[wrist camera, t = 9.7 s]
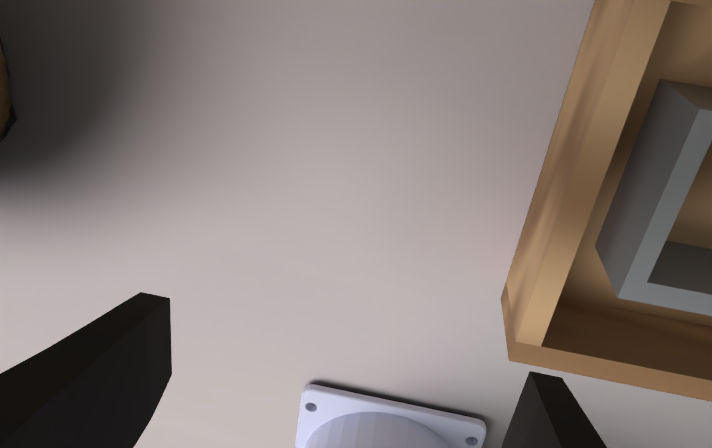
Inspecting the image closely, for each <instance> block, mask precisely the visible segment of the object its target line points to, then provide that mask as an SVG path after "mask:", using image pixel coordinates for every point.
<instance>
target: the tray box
mask: <svg viewBox="0 0 712 448" xmlns="http://www.w3.org/2000/svg"><path fill="white" fill-rule="evenodd" d="M660 79H663V80H669V81H675V82H681V83H687V84H693V85H699V86H705V87H711V88H712V0H595V3H594V6H593V9H592V12H591V15H590V18H589V22H588V25H587V28H586V31H585V34H584V37H583V40H582V44H581V47H580V50H579V53H578V56H577V59H576V63H575V66H574V69H573V72H572V75H571V78H570V82H569V85H568V88H567V91H566V94H565V97H564V101H563V104H562V107H561V110H560V113H559V116H558V119H557V123H556V126H555V129H554V132H553V135H552V138H551V142H550V145H549V148H548V151H547V154H546V157H545V161H544V164H543V167H542V170H541V173H540V176H539V179H538V183H537V186H536V189H535V192H534V195H533V198H532V202H531V205H530V208H529V211H528V214H527V217H526V221H525V224H524V227H523V230H522V233H521V236H520V239H519V243H518V246H517V249H516V252H515V255H514V258H513V262H512V265H511V268H510V271H509V274H508V277H507V281H506V284H505V287H504V290H503V293H502V296H501V304H502V311H503V319H504V326H505V334H506V342H507V349H508V357H509V361H514V362H519V363H524V364H529V365H534V366H539V367H544V368H549V369H554V370H559V371H563V372H568V373H573V374H578V375H583V376H588V377H593V378H598V379H603V380H608V381H613V382H618V383H623V384H628V385H633V386H638V387H642V388H647V389H652V390H657V391H662V392H667V393H672V394H677V395H682V396H687V397H692V398H697V399H702V400H707V401H712V316H709V315H703V314H698V313H693V312H688V311H683V310H678V309H672V308H667V307H662V306H657V305H652V304H647V303H641V302H636V301H631V300H626V299H621V298H617V296H616V294H615V291H614V289H613V287H612V285H611V282H610V280H609V278H608V276H607V273H606V271H605V269H604V266H603V264H602V262H601V260H600V257H599V255H598V253H597V251H596V248H595V243H596V241H597V238H598V236H599V233H600V231H601V228H602V226H603V223H604V220H605V218H606V215H607V213H608V210H609V208H610V205H611V203H612V200H613V198H614V195H615V192H616V190H617V187H618V185H619V182H620V180H621V177H622V175H623V172H624V169H625V167H626V164H627V162H628V159H629V157H630V154H631V152H632V149H633V146H634V144H635V141H636V139H637V136H638V134H639V131H640V129H641V126H642V124H643V121H644V118H645V116H646V113H647V111H648V108H649V106H650V103H651V101H652V98H653V95H654V93H655V90H656V88H657V85H658V83H659V80H660ZM666 240H667V241H672V242H677V243H683V244H688V245H693V246H699V247H704V248H709V249H712V141H711V144H710V146H709V148H708V150H707V152H706V154H705V157H704V159H703V161H702V163H701V165H700V167H699V170H698V172H697V174H696V176H695V178H694V181H693V183H692V185H691V187H690V189H689V191H688V194H687V196H686V198H685V200H684V202H683V204H682V207H681V209H680V211H679V213H678V215H677V218H676V220H675V222H674V224H673V226H672V228H671V231H670V233H669V235H668V237H667V239H666Z"/></svg>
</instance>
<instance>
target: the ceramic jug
mask: <svg viewBox="0 0 712 448" xmlns="http://www.w3.org/2000/svg"><path fill="white" fill-rule="evenodd" d="M8 89H9V73H8V68H7V64H6V59H5V55H4V50H3V46H2V42H1V40H0V142H1V141H2V140H3V139H4V138H5V136H6V135H7V133H8V132H9V130H10V129H11V127H12V126H13V124H14V123H15V121H16V120H17V118H16V115H15V111H14V108H13V105H12V102H11V99H10V96H9V93H8Z"/></svg>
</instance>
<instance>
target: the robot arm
mask: <svg viewBox="0 0 712 448" xmlns="http://www.w3.org/2000/svg"><path fill="white" fill-rule="evenodd" d="M171 375H172V365H171V325H170V298H166V297H161V296H157V295H152V294H147V293H142V292H141V293H139V294H137V295H135V296H134V297H132V298H130V299H128V300H127V301H125V302H123V303H122V304H120V305H119V306H117V307H115V308H114V309H112V310H110V311H109V312H107V313H106V314H104V315H102V316H101V317H99V318H97V319H96V320H94V321H93V322H91V323H89V324H88V325H86V326H84V327H83V328H81V329H79V330H78V331H76V332H74V333H73V334H71V335H69V336H67V337H66V338H64V339H62V340H61V341H59V342H57V343H56V344H54V345H52V346H51V347H49V348H47V349H45V350H44V351H42V352H40V353H38V354H36V355H34V356H32V357H31V358H29V359H27V360H25V361H23V362H21V363H19V364H18V365H16V366H14V367H12V368H10V369H8V370H7V371H5V372H3V373H1V374H0V448H133V447H134V446H135V444H136V442H137V441H138V439H139V438H140V436H141V434H142V433H143V431H144V430H145V428H146V426H147V425H148V423H149V421H150V420H151V418H152V416H153V414H154V412H155V410H156V407H157V405H158V403H159V401H160V399H161V397H162V395H163V393H164V390H165V388H166V386H167V384H168V382H169V379H170V377H171ZM309 403H314V404H315V405H311V404H309ZM468 437H474V438H468ZM485 437H486V425H485V423H484V422H483V421H482V420H480V419H477V418H472V417H467V416H462V415H458V414H453V413H448V412H443V411H439V410H434V409H429V408H424V407H420V406H415V405H410V404H405V403H400V402H396V401H391V400H386V399H381V398H377V397H372V396H367V395H362V394H357V393H353V392H348V391H343V390H338V389H334V388H329V387H324V386H319V385H313V384H310V385H307V386H306V387H304V389H303V392H302V395H301V402H300V410H299V419H298V427H297V435H296V443H295V448H482V445H483V442H484V439H485ZM502 448H607V447H606V445H605V444H604V442H603V441H602V439H601V438H600V436H599V435H598V433H597V432H596V430H595V429H594V427H593V426H592V424H591V422H590V421H589V419H588V418H587V416H586V415H585V413H584V412H583V410H582V408H581V407H580V405H579V404H578V402H577V401H576V399H575V398H574V396H573V394H572V393H571V391H570V390H569V388H568V387H567V385H566V384H565V382H564V381H563V379H562V378H560V377H555V376H550V375H546V374H541V373H536V372H531V371H530V372H529V375H528V377H527V380H526V383H525V385H524V388H523V391H522V393H521V396H520V399H519V401H518V404H517V407H516V409H515V412H514V415H513V417H512V420H511V423H510V425H509V428H508V431H507V433H506V436H505V439H504V441H503V444H502Z"/></svg>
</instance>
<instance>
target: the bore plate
mask: <svg viewBox="0 0 712 448" xmlns="http://www.w3.org/2000/svg"><path fill="white" fill-rule="evenodd" d="M711 141H712V88H711V87H705V86H699V85H693V84H687V83H681V82H675V81H669V80H663V79H660V80H659V83H658V85H657V88H656V90H655V93H654V95H653V98H652V101H651V103H650V106H649V108H648V111H647V113H646V116H645V118H644V121H643V124H642V126H641V129H640V131H639V134H638V136H637V139H636V141H635V144H634V146H633V149H632V152H631V154H630V157H629V159H628V162H627V164H626V167H625V169H624V172H623V175H622V177H621V180H620V182H619V185H618V187H617V190H616V192H615V195H614V198H613V200H612V203H611V205H610V208H609V210H608V213H607V215H606V218H605V220H604V223H603V226H602V228H601V231H600V233H599V236H598V238H597V241H596V243H595V248H596V251H597V253H598V255H599V257H600V260H601V262H602V264H603V266H604V269H605V271H606V273H607V276H608V278H609V280H610V282H611V285H612V287H613V289H614V291H615V294H616V296H617V298H621V299H626V300H631V301H636V302H641V303H647V304H652V305H657V306H662V307H667V308H672V309H678V310H683V311H688V312H693V313H698V314H703V315H709V316H712V249H709V248H704V247H699V246H693V245H688V244H683V243H677V242H672V241H667V240H666V239H667V237H668V235H669V233H670V231H671V228H672V226H673V224H674V222H675V220H676V218H677V215H678V213H679V211H680V209H681V207H682V204H683V202H684V200H685V198H686V196H687V194H688V191H689V189H690V187H691V185H692V183H693V181H694V178H695V176H696V174H697V172H698V170H699V167H700V165H701V163H702V161H703V159H704V157H705V154H706V152H707V150H708V148H709V146H710V144H711Z"/></svg>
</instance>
